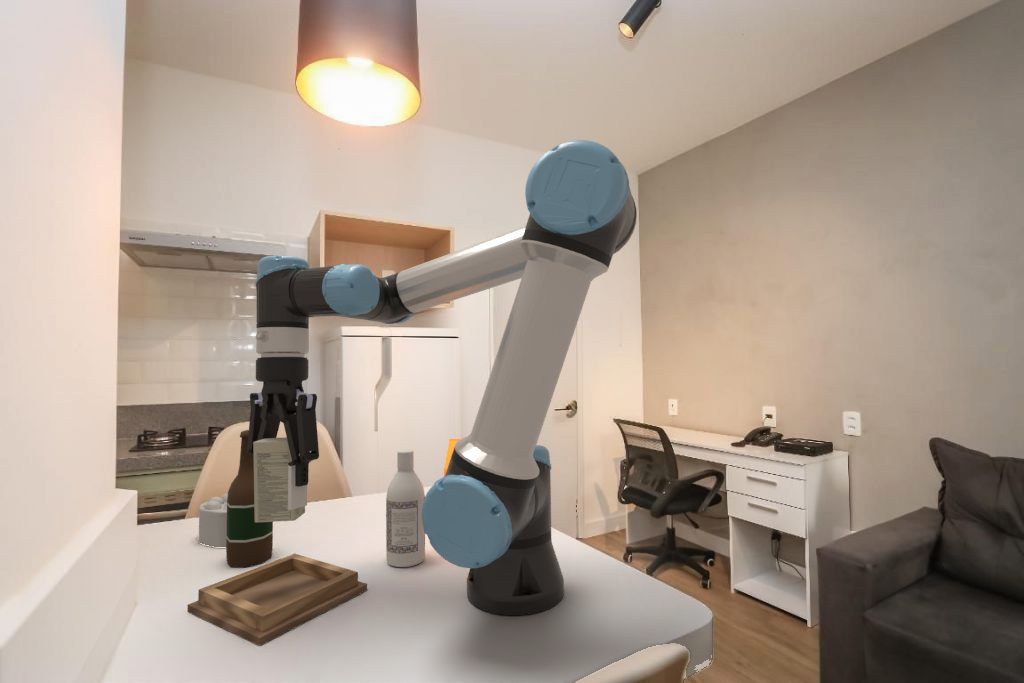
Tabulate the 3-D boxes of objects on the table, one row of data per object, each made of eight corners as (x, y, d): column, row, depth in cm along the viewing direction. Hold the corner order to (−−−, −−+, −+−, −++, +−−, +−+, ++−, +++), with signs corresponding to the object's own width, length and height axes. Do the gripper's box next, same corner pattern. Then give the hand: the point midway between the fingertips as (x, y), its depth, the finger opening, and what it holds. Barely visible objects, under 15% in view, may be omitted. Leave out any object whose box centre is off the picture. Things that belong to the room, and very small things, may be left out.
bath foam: (402, 551, 95) (401, 446, 96) (432, 556, 92) (431, 448, 93) (378, 564, 89) (378, 452, 90) (410, 570, 86) (409, 455, 87)
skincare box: (306, 513, 79) (306, 436, 79) (294, 522, 74) (295, 440, 75) (264, 514, 78) (265, 436, 79) (251, 523, 74) (252, 440, 75)
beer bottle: (216, 563, 90) (218, 432, 92) (255, 549, 97) (256, 427, 99) (243, 571, 87) (244, 434, 88) (281, 556, 94) (282, 428, 95)
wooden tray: (367, 590, 79) (367, 571, 79) (259, 645, 63) (259, 621, 64) (296, 567, 88) (296, 550, 88) (187, 611, 73) (187, 590, 73)
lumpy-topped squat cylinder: (224, 551, 97) (224, 506, 98) (184, 541, 103) (185, 499, 103) (271, 534, 106) (271, 493, 107) (232, 526, 112) (232, 487, 113)
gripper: (222, 357, 80) (220, 501, 79) (302, 354, 69) (301, 520, 68) (266, 357, 86) (265, 490, 85) (345, 354, 76) (345, 506, 75)
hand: (281, 503), depth 77 cm, fingers closed on skincare box, 7 cm apart
